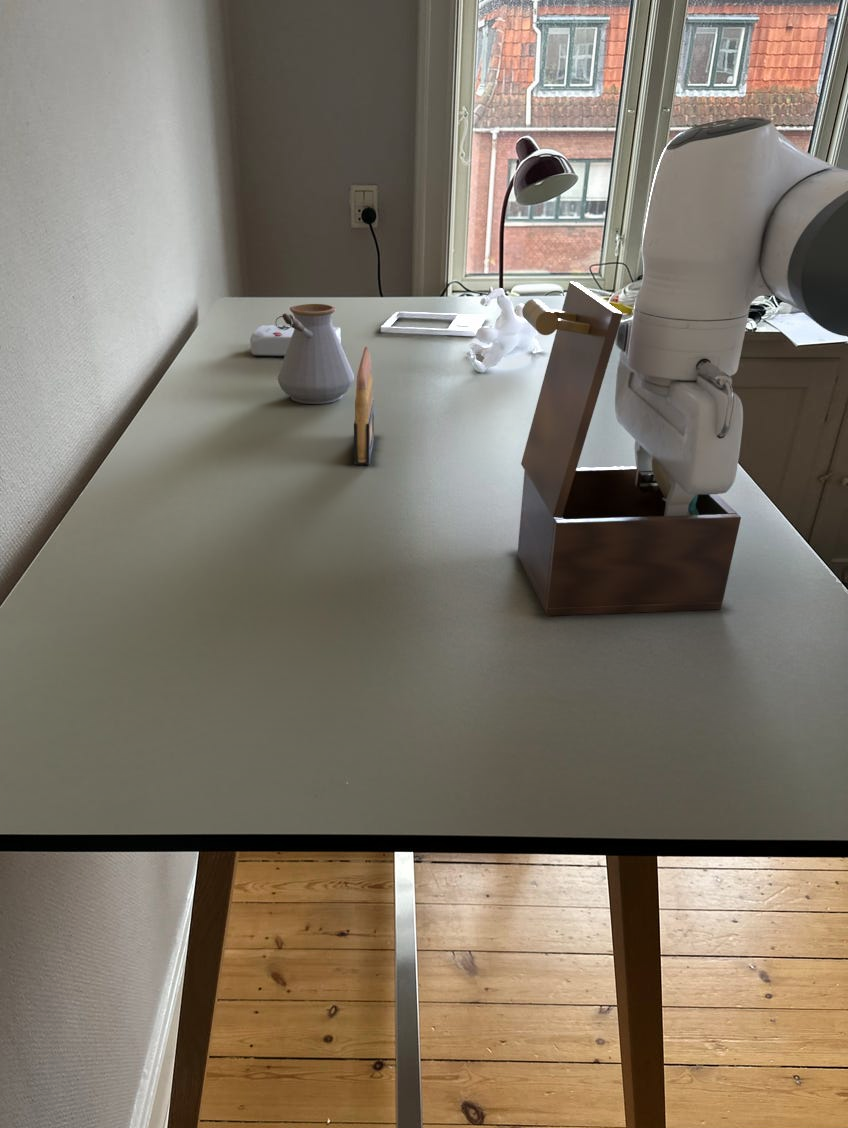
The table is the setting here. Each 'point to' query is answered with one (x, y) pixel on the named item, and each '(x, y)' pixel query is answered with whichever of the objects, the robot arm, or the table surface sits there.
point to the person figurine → (503, 334)
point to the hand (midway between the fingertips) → (658, 504)
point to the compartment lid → (567, 388)
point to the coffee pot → (314, 357)
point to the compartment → (624, 548)
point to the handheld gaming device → (274, 340)
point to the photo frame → (459, 326)
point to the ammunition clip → (364, 412)
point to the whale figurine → (664, 486)
